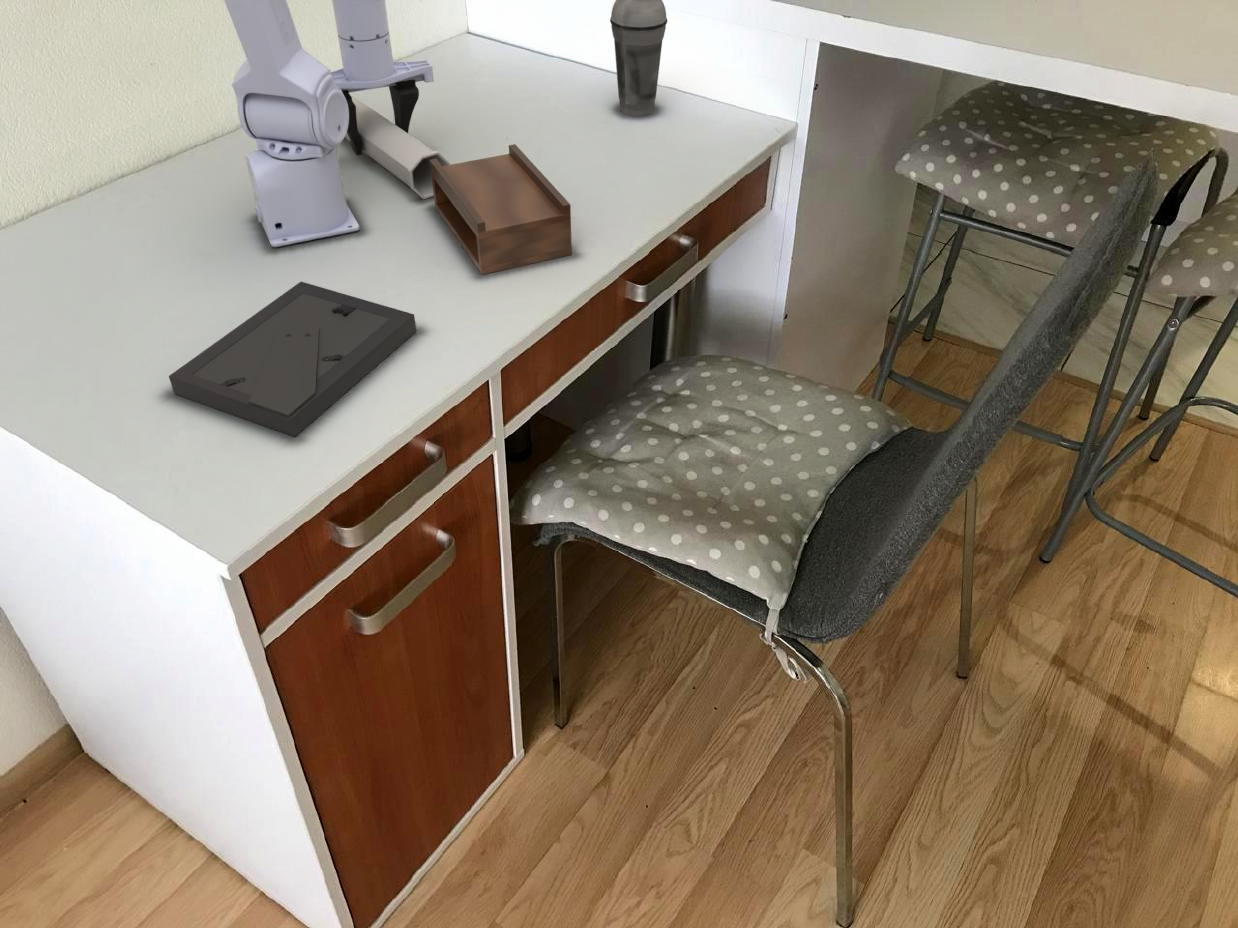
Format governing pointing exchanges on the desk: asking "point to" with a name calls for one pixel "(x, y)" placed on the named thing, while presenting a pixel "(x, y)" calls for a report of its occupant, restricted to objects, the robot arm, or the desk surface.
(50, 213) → the desk surface
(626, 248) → the desk surface
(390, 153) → the tube
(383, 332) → the picture frame
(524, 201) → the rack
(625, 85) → the beverage cup
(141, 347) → the desk surface
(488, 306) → the desk surface
